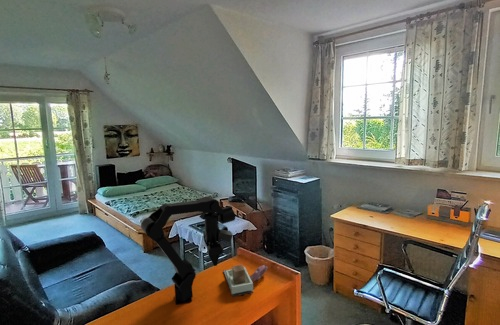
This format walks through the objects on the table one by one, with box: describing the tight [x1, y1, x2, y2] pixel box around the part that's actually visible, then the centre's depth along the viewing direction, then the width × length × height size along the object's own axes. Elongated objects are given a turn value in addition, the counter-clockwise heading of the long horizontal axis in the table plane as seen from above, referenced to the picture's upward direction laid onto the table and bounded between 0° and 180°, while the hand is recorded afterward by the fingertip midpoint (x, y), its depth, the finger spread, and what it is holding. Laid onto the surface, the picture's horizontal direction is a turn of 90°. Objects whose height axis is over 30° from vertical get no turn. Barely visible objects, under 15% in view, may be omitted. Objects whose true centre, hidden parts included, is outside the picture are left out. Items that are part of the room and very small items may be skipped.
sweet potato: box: [249, 264, 269, 283], centre depth 134 cm, size 10×5×7 cm, turn 146°
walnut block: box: [231, 264, 245, 285], centre depth 128 cm, size 4×4×6 cm
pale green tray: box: [225, 266, 254, 295], centre depth 128 cm, size 9×14×4 cm, turn 15°
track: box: [223, 268, 254, 298], centre depth 132 cm, size 9×20×1 cm, turn 15°
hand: (213, 260), depth 127 cm, fingers open, 9 cm apart
